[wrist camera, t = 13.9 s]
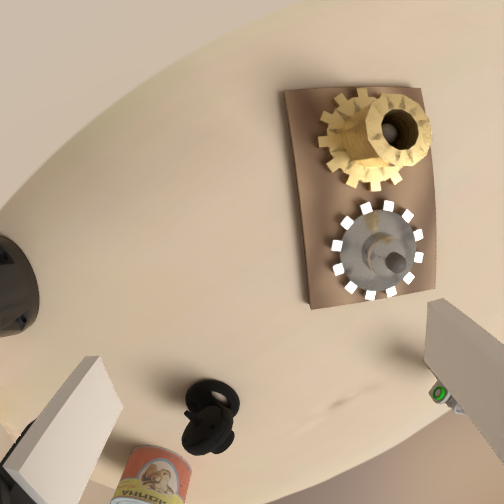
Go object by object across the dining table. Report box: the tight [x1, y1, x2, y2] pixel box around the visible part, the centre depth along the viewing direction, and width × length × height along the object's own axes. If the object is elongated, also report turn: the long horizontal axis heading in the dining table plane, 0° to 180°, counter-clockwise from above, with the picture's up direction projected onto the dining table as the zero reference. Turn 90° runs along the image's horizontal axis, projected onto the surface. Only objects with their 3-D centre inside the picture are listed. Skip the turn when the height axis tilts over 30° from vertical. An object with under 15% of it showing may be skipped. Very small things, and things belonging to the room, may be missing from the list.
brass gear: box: [316, 88, 432, 191], centre depth 27 cm, size 11×11×9 cm
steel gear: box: [329, 200, 423, 300], centre depth 31 cm, size 11×11×5 cm
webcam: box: [182, 381, 240, 456], centre depth 36 cm, size 8×8×10 cm
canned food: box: [110, 446, 192, 504], centre depth 39 cm, size 11×11×12 cm
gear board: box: [284, 87, 436, 310], centre depth 30 cm, size 16×24×8 cm, turn 8°
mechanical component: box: [429, 368, 468, 416], centre depth 34 cm, size 3×10×10 cm, turn 64°
